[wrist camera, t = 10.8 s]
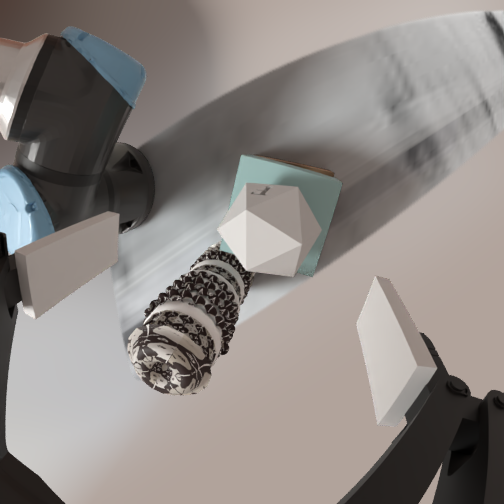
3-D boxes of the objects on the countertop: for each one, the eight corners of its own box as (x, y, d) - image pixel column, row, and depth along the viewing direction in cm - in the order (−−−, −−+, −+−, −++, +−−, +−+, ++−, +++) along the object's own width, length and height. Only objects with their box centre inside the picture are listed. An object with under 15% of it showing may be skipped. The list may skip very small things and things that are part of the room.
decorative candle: (217, 226, 44) (128, 306, 21) (269, 259, 45) (231, 371, 21) (190, 272, 48) (105, 370, 24) (239, 303, 48) (187, 422, 25)
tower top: (232, 235, 38) (219, 249, 33) (251, 154, 35) (241, 154, 29) (311, 258, 38) (312, 276, 32) (336, 178, 34) (342, 182, 28)
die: (333, 211, 30) (308, 163, 22) (314, 293, 29) (280, 275, 20) (264, 202, 34) (220, 160, 26) (242, 275, 33) (189, 253, 24)
